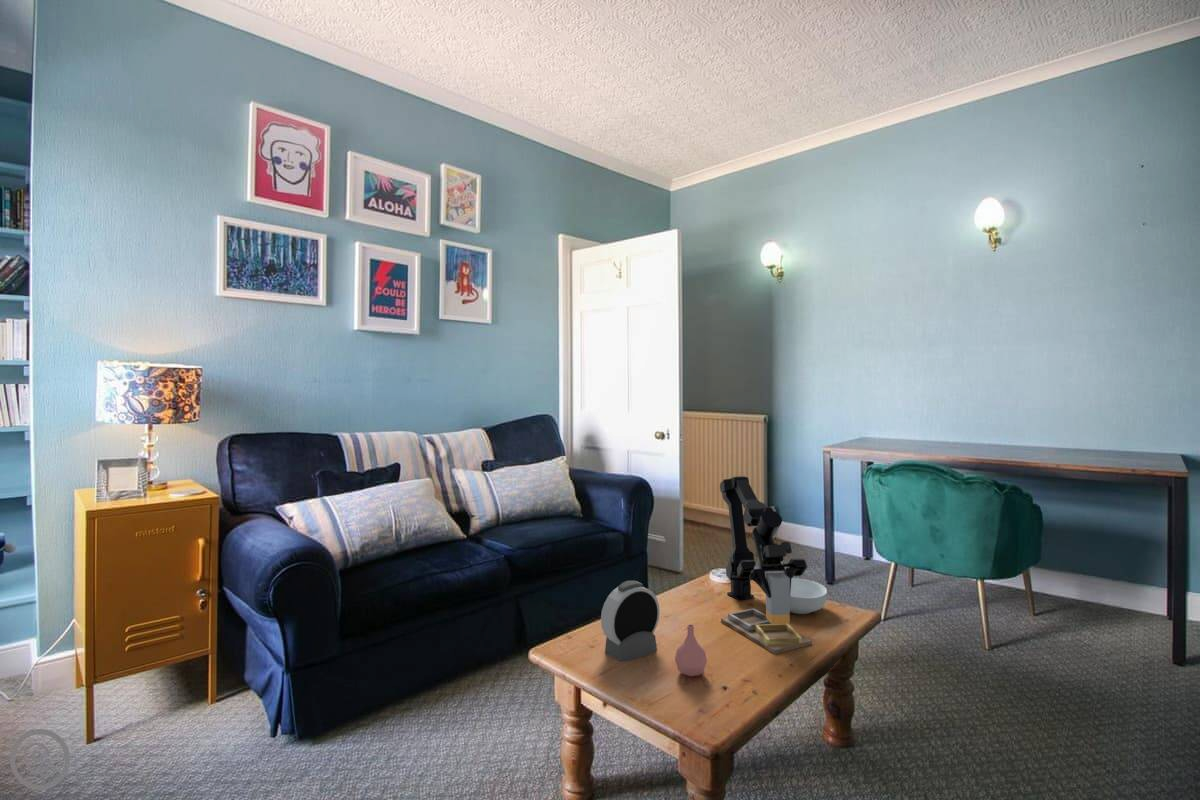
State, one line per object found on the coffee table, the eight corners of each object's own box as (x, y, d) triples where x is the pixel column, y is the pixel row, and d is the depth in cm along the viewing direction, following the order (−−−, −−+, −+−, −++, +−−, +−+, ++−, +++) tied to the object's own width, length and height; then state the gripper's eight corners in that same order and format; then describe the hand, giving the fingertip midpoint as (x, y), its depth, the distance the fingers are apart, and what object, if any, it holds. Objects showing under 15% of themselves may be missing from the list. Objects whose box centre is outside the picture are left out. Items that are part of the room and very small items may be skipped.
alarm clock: (617, 665, 147) (616, 594, 147) (595, 650, 156) (594, 583, 155) (666, 649, 156) (666, 581, 156) (643, 635, 165) (642, 571, 164)
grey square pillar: (766, 617, 163) (766, 573, 162) (783, 616, 163) (783, 572, 163) (771, 624, 158) (771, 578, 158) (789, 623, 159) (789, 578, 158)
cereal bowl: (759, 604, 187) (759, 582, 186) (798, 596, 194) (798, 574, 193) (798, 624, 171) (798, 600, 171) (839, 614, 178) (839, 591, 178)
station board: (720, 621, 173) (720, 613, 173) (755, 613, 179) (755, 605, 179) (775, 654, 152) (775, 645, 152) (812, 644, 158) (812, 635, 158)
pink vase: (685, 663, 148) (685, 616, 148) (712, 672, 143) (712, 624, 143) (669, 675, 142) (668, 627, 142) (696, 685, 137) (696, 635, 137)
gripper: (740, 532, 163) (753, 585, 153) (804, 530, 164) (822, 582, 154) (731, 551, 171) (743, 603, 161) (793, 549, 173) (809, 600, 162)
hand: (779, 597), depth 159 cm, fingers closed on grey square pillar, 5 cm apart
